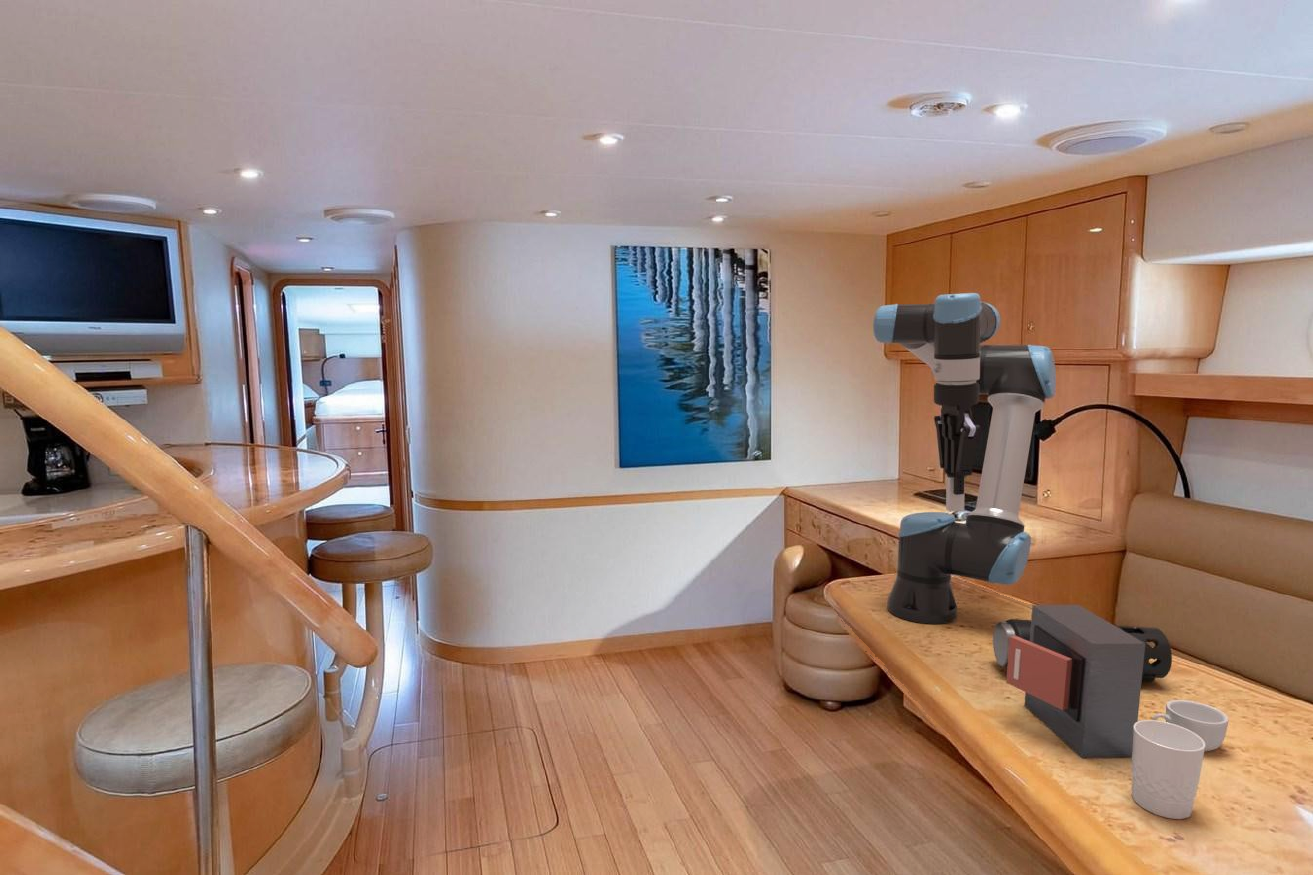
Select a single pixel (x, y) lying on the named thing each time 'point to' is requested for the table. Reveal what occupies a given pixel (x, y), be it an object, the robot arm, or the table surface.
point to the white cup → (1165, 768)
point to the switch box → (1091, 680)
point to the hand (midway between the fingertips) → (955, 509)
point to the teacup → (1198, 720)
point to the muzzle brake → (1141, 633)
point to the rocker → (1039, 672)
